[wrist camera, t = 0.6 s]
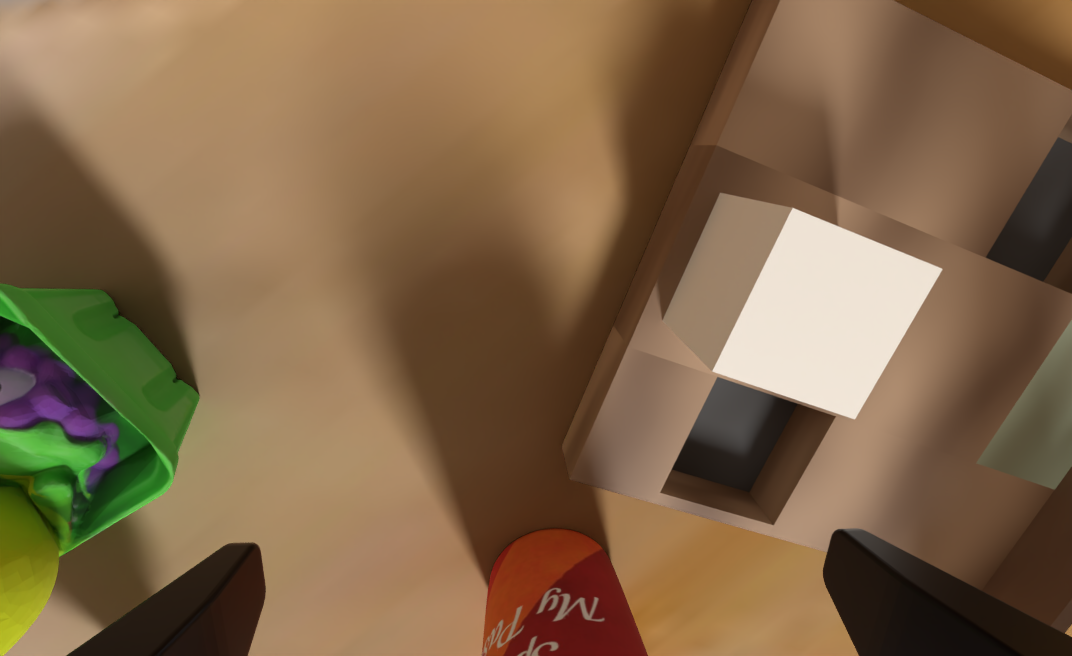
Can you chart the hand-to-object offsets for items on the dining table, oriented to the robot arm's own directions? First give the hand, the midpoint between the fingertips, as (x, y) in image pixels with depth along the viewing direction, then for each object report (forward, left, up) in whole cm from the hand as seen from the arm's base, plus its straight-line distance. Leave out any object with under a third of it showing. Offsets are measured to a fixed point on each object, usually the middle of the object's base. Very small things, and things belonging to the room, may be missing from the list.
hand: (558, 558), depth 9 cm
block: (-7, -4, -11) cm, 13 cm away
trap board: (-13, -4, -13) cm, 19 cm away
